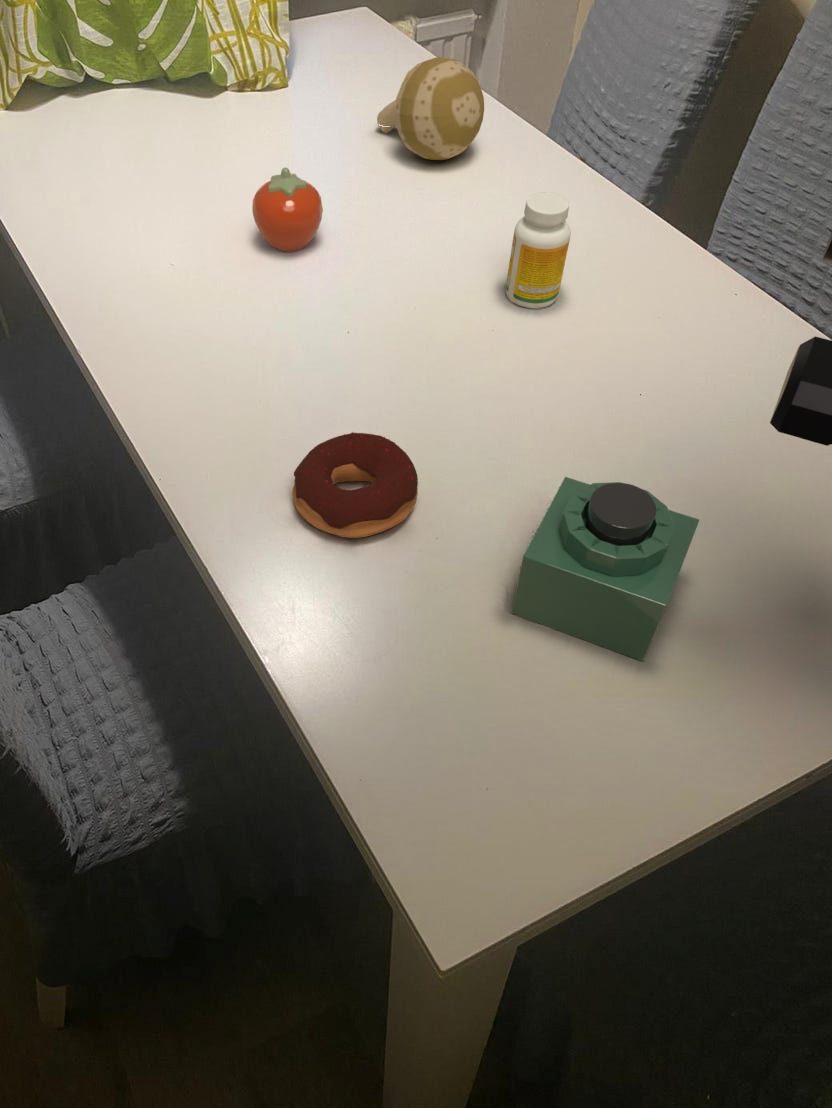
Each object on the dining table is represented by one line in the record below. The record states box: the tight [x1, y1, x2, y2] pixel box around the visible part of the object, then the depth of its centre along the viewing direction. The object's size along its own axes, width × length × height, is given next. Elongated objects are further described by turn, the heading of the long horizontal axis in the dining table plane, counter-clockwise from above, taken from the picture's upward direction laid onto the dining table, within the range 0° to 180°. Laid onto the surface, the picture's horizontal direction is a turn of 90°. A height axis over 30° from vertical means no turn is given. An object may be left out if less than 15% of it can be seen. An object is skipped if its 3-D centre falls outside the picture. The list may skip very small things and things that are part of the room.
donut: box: [292, 431, 419, 539], centre depth 74 cm, size 10×10×4 cm
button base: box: [510, 476, 700, 662], centre depth 67 cm, size 10×9×8 cm
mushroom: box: [376, 56, 485, 161], centre depth 110 cm, size 10×11×15 cm
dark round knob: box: [585, 482, 656, 546], centre depth 63 cm, size 4×4×2 cm
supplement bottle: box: [505, 191, 572, 309], centre depth 90 cm, size 5×5×10 cm
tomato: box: [251, 167, 324, 253], centre depth 97 cm, size 7×7×8 cm
